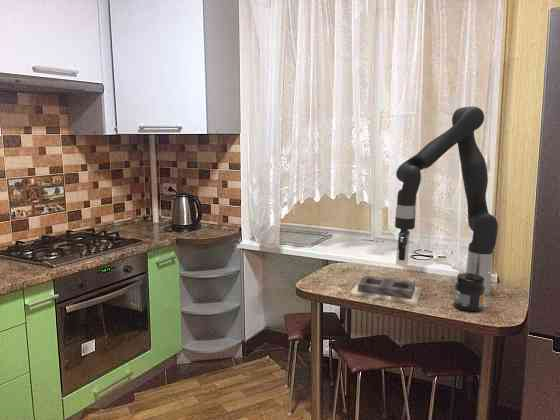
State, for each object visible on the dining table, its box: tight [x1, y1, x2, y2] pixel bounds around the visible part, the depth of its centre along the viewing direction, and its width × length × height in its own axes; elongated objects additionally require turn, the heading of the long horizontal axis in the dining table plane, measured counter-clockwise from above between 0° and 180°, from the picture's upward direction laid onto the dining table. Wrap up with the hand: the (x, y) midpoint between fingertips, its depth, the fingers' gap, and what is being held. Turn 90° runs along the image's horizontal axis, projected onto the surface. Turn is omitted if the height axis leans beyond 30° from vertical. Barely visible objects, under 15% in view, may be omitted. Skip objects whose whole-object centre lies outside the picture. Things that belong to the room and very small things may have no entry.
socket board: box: [349, 275, 423, 306], centre depth 195 cm, size 26×18×4 cm
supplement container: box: [453, 272, 485, 312], centre depth 180 cm, size 10×10×12 cm
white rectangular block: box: [395, 240, 410, 267], centre depth 190 cm, size 4×4×9 cm
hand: (402, 258), depth 191 cm, fingers closed on white rectangular block, 4 cm apart
